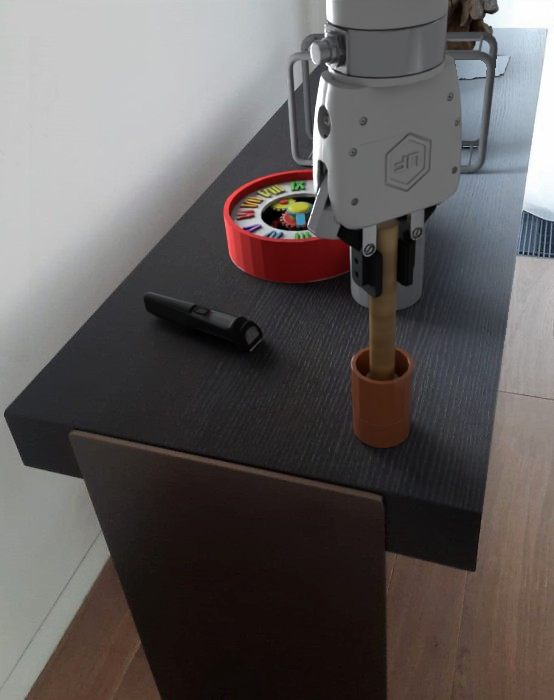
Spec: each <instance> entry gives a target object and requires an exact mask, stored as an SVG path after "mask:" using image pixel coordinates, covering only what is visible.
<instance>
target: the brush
mask: <svg viewBox="0 0 554 700" xmlns="http://www.w3.org/2000/svg"><path fill="white" fill-rule="evenodd" d="M398 224H399V222H398V220H397V219H396V218H395V219H392V220H389V221H386V222H383V223H380V224H377V243H376V249H377V250H378V251H379V252H381V254H382V256H383V279H382V294H381V296H380V297H377V298H372V297H371V296H370V295H369V308H368V309H369V311H368V313H369V319H368V320H369V321H368V322H369V324H368V325H369V326H368V327H369V329H368V330H369V346H370V372H369V373H368V374H367V375H366V376H365V377H367V378H369V379H371V380H377V381H389V380H394V379H396V378H399V377H398V375H397V374H395V346H396V334H397V331H396V330H397V310H396V299H397V262H398Z"/></svg>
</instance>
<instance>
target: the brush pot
mask: <svg viewBox="0 0 554 700" xmlns="http://www.w3.org/2000/svg"><path fill="white" fill-rule="evenodd" d="M414 369H415V363H414V360H413V357H412V356H411V354H409V353H408V352H407V351H406V350H405V349H402V348H400V347H398V346H396V345H395V374H397V375H398V377H399V378H396V379H394V380H389V381H377V380H371V379H369V378H367V377H365V376H366V375H367V374H368V373H369V372H370V345H369V346H366V347H363V348H360V350H358V351H357V352H355V354H354V355H353V357H352V359H351V361H350V379H351V381H350V383H351V406H352V431H353V433H354V435H355V437H356V436H357V437H356V438H357V439H358V440H359V441H360V442H361V443H362V444H364V443H365V444H364V445H366V444H367V445H366V446H368V445H369V447H371V446H372V447H371V448H377V449H389V448H392V447H396V446H398V445H400V444H402V443H403V442H405V440H407V438H408V436H409V435H410V434H411V433H410V432H411V420H412V406H413V389H414V388H413V387H414V373H415V372H414V371H415V370H414Z"/></svg>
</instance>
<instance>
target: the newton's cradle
mask: <svg viewBox="0 0 554 700" xmlns="http://www.w3.org/2000/svg"><path fill="white" fill-rule="evenodd" d="M323 38H325V33H310V34H309V35H307V36H305V38H304V39H303V40H302V42H301V45H300V51H299V52H295V53H292V54H291V55H290V56H289V57H288V58H287V60H286V63H285V81H286V92H287V93H286V94H287V95H286V96H287V107H288V121H289V135H290V147H291V148H290V149H291V155H292V156H291V157H292V159H293V160H294V162H295V163H296V164H297V165H299V166H301V165H308V166H309V165H311V166H313V159H312V158H313V149H312V151H311V152H310V154H309V155H308V158H307V159H306V158H303V157H302V156H301V154H300V150H299V136H298V123H297V120H298V119H297V107H296V105H297V104H296V91H295V77H294V76H295V75H294V66H295V64H296V62H298V61H301V76H302V91H303V93H302V95H303V108H304V109H303V110H304V125H305V127H304V128H305V133H306V136H307V138H308V139H309V140H310V141H311V140H313V136H314V130H313V120H312V119H313V117H312V99H311V82H310V80H311V79H310V65H309V64H310V63H309V61H313V60H312V57H311V50H309V48H310V47H311V45H312V43H315V42H319V41H321V40H322V39H323ZM447 41H476V42H479V44H478V49H473V50H446V49H445V55H448V56H450V57H452V58H453V59H454V60H481V61H483V62H484V63H485V64H486V67H487V70H486V78H485V82H484V90H483V91H484V92H483V103H482V111H481V120H480V121H481V123H480V132H479V138H477V139H476V140H462V147H463V146H471V147H470V148H469V154H468V159H467V160H468V161H467V165H463V164H461V172H460V174H474V173H475V172H478V171H479V170H481V169H482V168H483V166H484V165H485V162H486V156H487V147H488V137H489V132H490V125H491V116H492V115H491V113H492V103H493V94H494V88H495V87H494V86H495V78H496V77H495V68H496V59H497V55H498V50H499V49H498V48H499V47H498V41H497V39H496V37H495V36H494V35H493V34H490V33H488V32H447V33H446V47H447ZM484 42H486V43H487V44H488V45H489V51H488V53H487V52H485V51H482V48H483V43H484ZM473 146H479V147H478V149H477V160H476V162H475V163H473V164H471V163H472V157H473V151H474V148H473ZM468 172H469V173H468ZM470 172H471V173H470Z"/></svg>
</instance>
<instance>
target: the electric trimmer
mask: <svg viewBox="0 0 554 700" xmlns="http://www.w3.org/2000/svg"><path fill="white" fill-rule="evenodd" d="M143 305H144V309H145V310H146V312H147V313H149V314H151V315H152V316H154V317H157V318H159V319H161V320H163V321H164V322H166V323H169V324H170V325H173V326H175V327H177V328H179V329H181V330H182V331H188V330H194V329H195V330H197V331H201V332H203V333H207V334H209V335H212V336H215V337H216V338H217V337H218V338H221V339H222V340H226V341H229V342H232V343H234V345H235V346H236V347H237V348H238V350H240V351H242V352H245V351H249V352H252V351H253V350H254V349H255V348H256V347H257V346H258V345H259V344H260V343H261V342H262V341H263V339H262V338H263V336H264V335H263V331H262V329H261V327H260V326H259V325H258V324H257V323H256V322H254V321H253V320H251V319H249V318H248V317H246V316H244V315H238V314H234V313H231V312H227V311H223V310H220V309H215V308H212V307H209V306H206V305H205V306H204V305H201V304H196V303H192V302H188V301H184V300H181V299H177V298H173V297H170V296H167V295H163V294H160V293H157V292H152V291H146V292H144V295H143Z"/></svg>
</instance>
